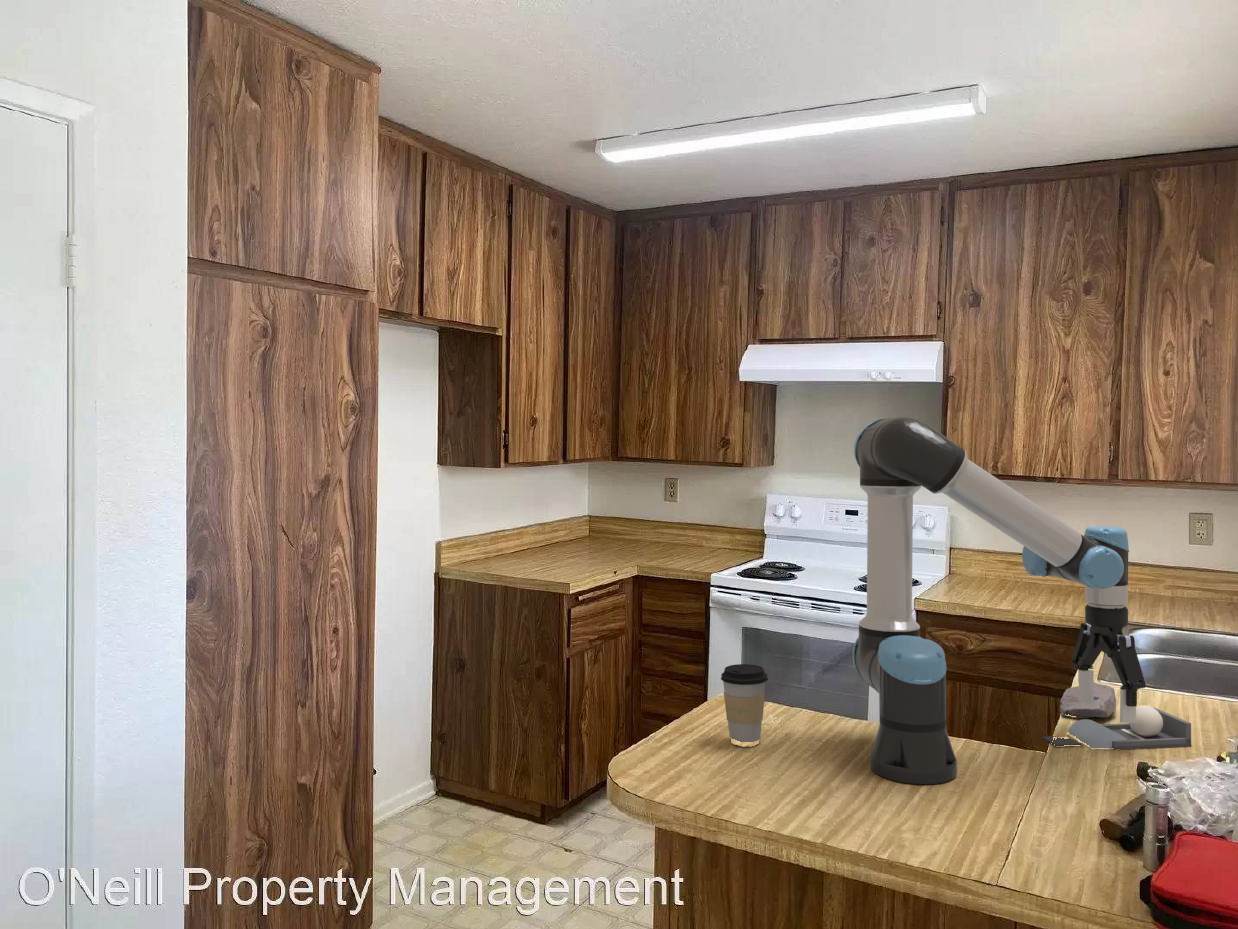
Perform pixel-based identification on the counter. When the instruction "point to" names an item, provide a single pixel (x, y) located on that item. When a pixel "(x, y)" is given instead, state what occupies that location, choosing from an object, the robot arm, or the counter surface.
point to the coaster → (1061, 741)
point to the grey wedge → (1094, 734)
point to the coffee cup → (744, 700)
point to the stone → (1098, 708)
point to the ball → (1147, 721)
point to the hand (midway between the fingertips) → (1106, 712)
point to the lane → (1169, 736)
